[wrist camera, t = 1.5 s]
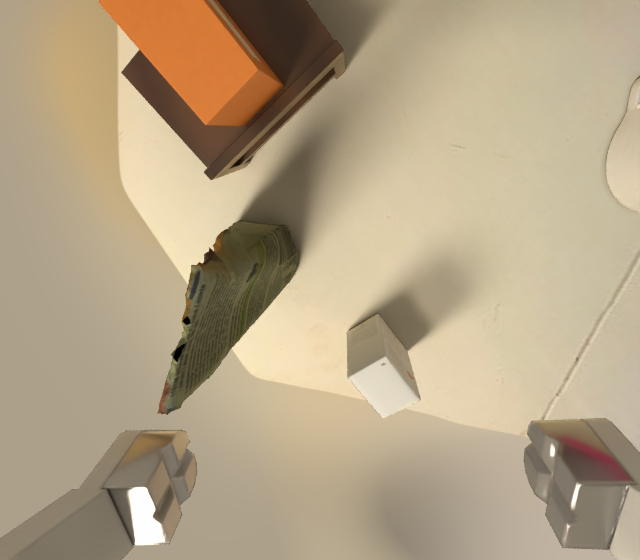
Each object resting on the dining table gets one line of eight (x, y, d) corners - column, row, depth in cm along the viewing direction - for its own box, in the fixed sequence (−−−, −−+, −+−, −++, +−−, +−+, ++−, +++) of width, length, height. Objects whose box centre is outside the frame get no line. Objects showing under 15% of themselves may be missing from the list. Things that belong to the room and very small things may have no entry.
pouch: (244, 302, 52) (161, 440, 29) (202, 227, 48) (66, 317, 25) (315, 274, 49) (285, 402, 26) (276, 193, 45) (201, 259, 22)
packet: (211, -9, 29) (149, -71, 20) (285, 86, 32) (259, 68, 22) (172, 40, 31) (97, 2, 22) (244, 126, 33) (205, 126, 24)
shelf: (271, -32, 37) (239, -97, 26) (345, 71, 40) (344, 50, 29) (171, 84, 41) (109, 69, 31) (243, 168, 44) (211, 180, 34)
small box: (345, 331, 52) (345, 377, 43) (378, 311, 51) (385, 354, 41) (376, 368, 54) (382, 420, 45) (408, 351, 53) (422, 401, 43)
